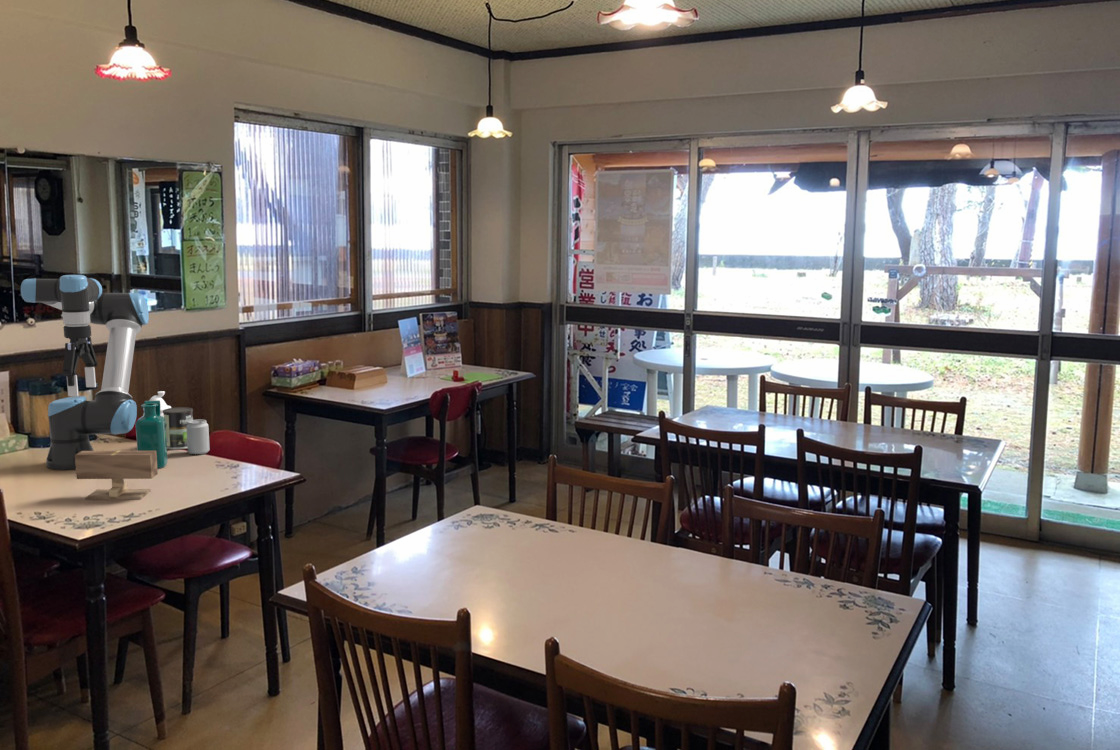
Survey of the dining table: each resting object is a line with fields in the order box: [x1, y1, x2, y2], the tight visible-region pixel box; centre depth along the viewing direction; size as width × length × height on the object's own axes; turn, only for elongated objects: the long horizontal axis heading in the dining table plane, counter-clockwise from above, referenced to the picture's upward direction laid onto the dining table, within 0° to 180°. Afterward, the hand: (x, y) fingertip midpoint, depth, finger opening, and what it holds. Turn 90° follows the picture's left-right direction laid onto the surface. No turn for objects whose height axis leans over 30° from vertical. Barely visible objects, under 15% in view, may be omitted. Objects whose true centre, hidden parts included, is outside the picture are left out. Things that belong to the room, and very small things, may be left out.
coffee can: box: [163, 406, 194, 450], centre depth 332 cm, size 10×10×14 cm
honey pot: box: [141, 390, 172, 417], centre depth 346 cm, size 13×13×18 cm
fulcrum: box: [85, 479, 152, 501], centre depth 272 cm, size 8×16×6 cm, turn 95°
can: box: [186, 419, 211, 456], centre depth 324 cm, size 8×8×12 cm
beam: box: [75, 450, 159, 480], centre depth 271 cm, size 5×22×8 cm, turn 94°
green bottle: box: [135, 400, 169, 469], centre depth 305 cm, size 10×8×22 cm
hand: (82, 391), depth 281 cm, fingers open, 13 cm apart
